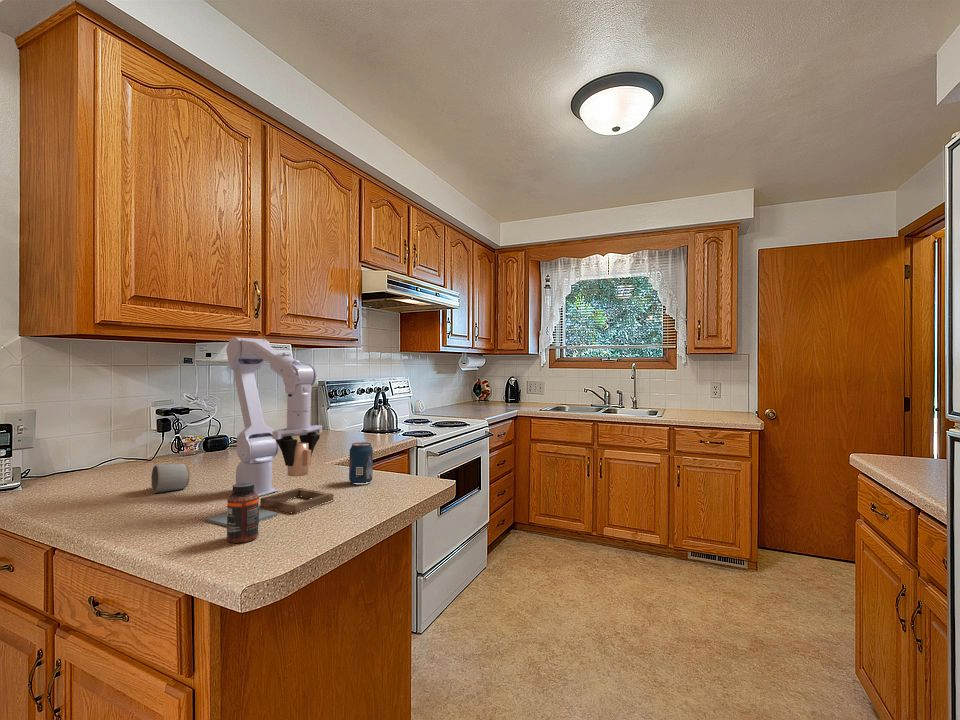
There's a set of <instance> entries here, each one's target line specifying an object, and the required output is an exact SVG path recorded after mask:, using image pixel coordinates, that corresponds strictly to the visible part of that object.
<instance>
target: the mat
mask: <svg viewBox="0 0 960 720" xmlns="http://www.w3.org/2000/svg"><path fill="white" fill-rule="evenodd" d="M276 515H279V512H275V511H271V510H266V509H262V508H259V522H262V521H265V520H268V519H271V518H274V517H273V516H275V517H277V516H276ZM270 517H271V518H270ZM267 518H268V519H267ZM264 519H265V520H264ZM261 520H262V521H261ZM204 522H208V523H212V524H215V525H219V526H222V527H226V528H227V511H226V512H222V513H218V514H216V515H211V516H207V517H204Z"/></svg>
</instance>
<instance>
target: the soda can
mask: <svg viewBox="0 0 960 720" xmlns="http://www.w3.org/2000/svg"><path fill="white" fill-rule="evenodd" d="M373 451H374V449H373V447H372V443H371V442H363V441H362V442H353V443H351V446H350V448H349V459H348V461H349V463H348V464H349V468H348V470H349V471H348V480H349V482H350V483H366V482H370V481H371V482H372V480H373V471H374V470H373V466H374V465H373V463H374V462H373V460H374V459H373V458H374V457H373V456H374V455H373V454H374V452H373ZM371 482H370V483H371Z"/></svg>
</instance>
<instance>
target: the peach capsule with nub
mask: <svg viewBox="0 0 960 720" xmlns="http://www.w3.org/2000/svg"><path fill="white" fill-rule="evenodd" d="M310 466H312V456H311V450H309V443H308V442H301V441H297V444H296V447H295V452H294V463H293V466H287V473H286V474H287V476H288V477H304V476H307V475H309V467H310Z"/></svg>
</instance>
